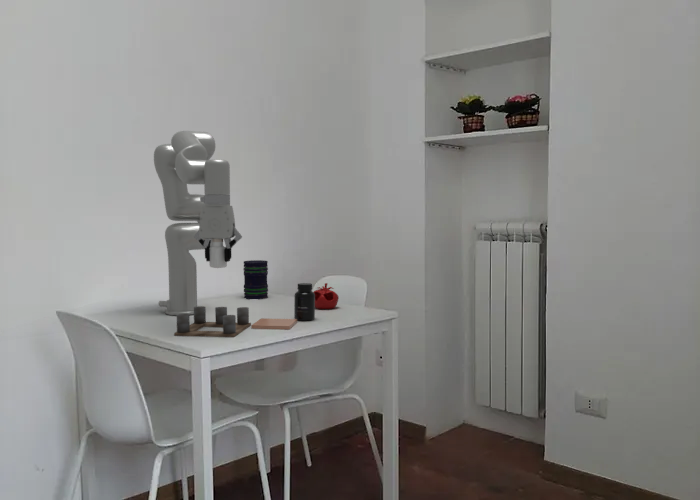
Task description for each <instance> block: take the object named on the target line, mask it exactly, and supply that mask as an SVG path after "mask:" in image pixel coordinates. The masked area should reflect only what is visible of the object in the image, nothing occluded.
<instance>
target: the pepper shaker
mask: <svg viewBox="0 0 700 500" xmlns="http://www.w3.org/2000/svg"><path fill="white" fill-rule="evenodd" d="M212 242H213V246H212V247H210V248H209V254H210V261H209V267H210V268H213V269H222V268H227V265H228V264H227V263H228V262H225V255H224V249H225V248H226V246H224V239H212Z"/></svg>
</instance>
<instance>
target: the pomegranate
mask: <svg viewBox="0 0 700 500" xmlns="http://www.w3.org/2000/svg"><path fill="white" fill-rule="evenodd" d="M315 289H316V290H314V291H313V292H314V294H315V309H318V310H332V309H335V308H336V306H338V302H339V295H338V293H336V292H335V291H334V289H335V287H333V286H330V287H328V282H326V283H324V285H323V286H321V287H316V288H315ZM331 289H333V290H331Z"/></svg>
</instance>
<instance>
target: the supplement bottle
mask: <svg viewBox="0 0 700 500" xmlns="http://www.w3.org/2000/svg"><path fill="white" fill-rule="evenodd" d="M312 290H313V283H310V282H300V283H299V282H298V283H297V291H295V293H294V303H293V304H294V313H293V317H294V318H293V319H297V322H298V321H299V322H310V321H314V320H315V316H316V315H315V314H316V311H315V310H316V308H315V294H314V291H312Z"/></svg>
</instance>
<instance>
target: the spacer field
mask: <svg viewBox="0 0 700 500" xmlns="http://www.w3.org/2000/svg"><path fill="white" fill-rule="evenodd" d="M214 309H215V313H214V314H215V317H214V318H215V321H207V319H206V318H207V317H206V316H207V315H206V310H207V309H206V306H203V305H202V306H201V305H200V306H198V305H197V307H194V314H193V323H190V315H189V314H178V315H176V331H175V332H174V334H173V335H174V336H175V337H178V336H179V337H212V338H213V337H214V338H217V337H218V338H235V337H236V336H238V335H240V334H241V333H243V332H244V331H245V330H246V329H248V328H249V327H251V325H252V323H251V322H249V321H250V320H249V319H250V318H249V317H250V315H249V313H250V312H249V311H250V308H249V307H247V306H241V307H236V315H235V314H228V307H227V306H216V307H215V308H214ZM207 327H208V328H222V330H219V331H218V330H201V329H203V328H207Z"/></svg>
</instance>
